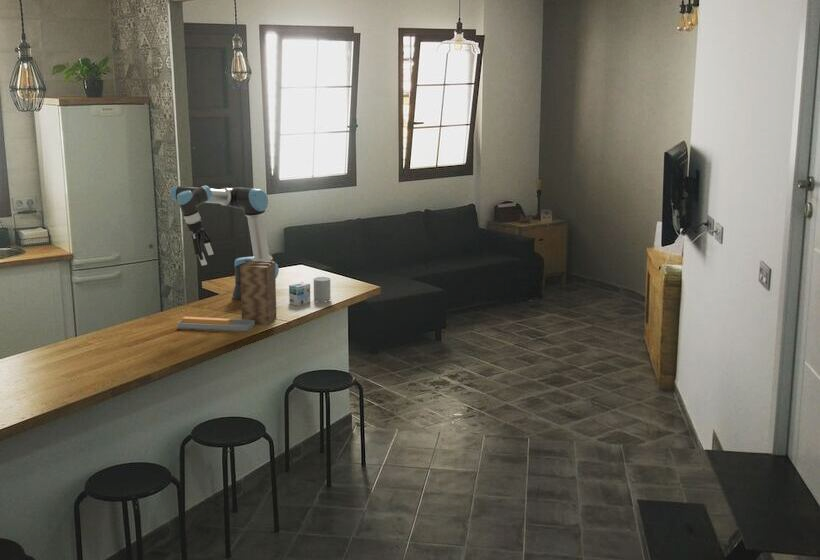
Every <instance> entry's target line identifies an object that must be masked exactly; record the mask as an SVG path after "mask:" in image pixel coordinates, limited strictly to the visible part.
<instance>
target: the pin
mask: <svg viewBox="0 0 820 560" xmlns="http://www.w3.org/2000/svg"><path fill="white" fill-rule="evenodd" d="M231 319H232V318H221V317H219V318H218V317H200V316H184V317H182V318H181V320H182V323H193V324H214V325H231Z"/></svg>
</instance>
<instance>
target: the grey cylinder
mask: <svg viewBox="0 0 820 560" xmlns="http://www.w3.org/2000/svg"><path fill="white" fill-rule="evenodd" d="M312 280H313V301H314V300H315V301H318V302H317V303H326V302H325V301H329V300H331V301H332V299H331V278H330V277H324V276H321V277H320V276H319V277H315V278H313V279H312ZM315 301H314V302H315ZM329 302H330V301H329Z"/></svg>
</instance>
